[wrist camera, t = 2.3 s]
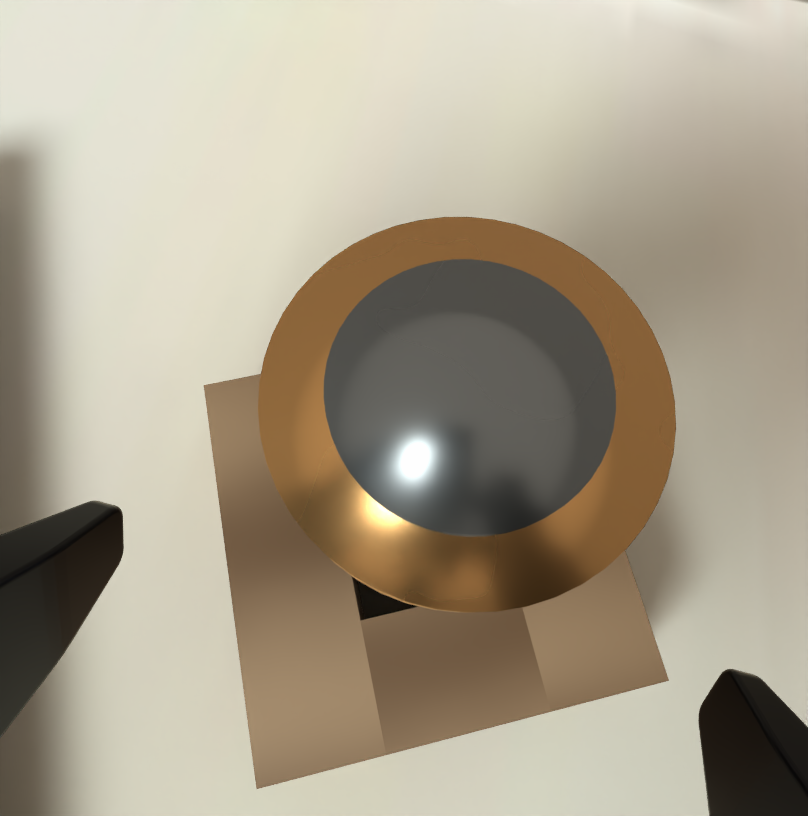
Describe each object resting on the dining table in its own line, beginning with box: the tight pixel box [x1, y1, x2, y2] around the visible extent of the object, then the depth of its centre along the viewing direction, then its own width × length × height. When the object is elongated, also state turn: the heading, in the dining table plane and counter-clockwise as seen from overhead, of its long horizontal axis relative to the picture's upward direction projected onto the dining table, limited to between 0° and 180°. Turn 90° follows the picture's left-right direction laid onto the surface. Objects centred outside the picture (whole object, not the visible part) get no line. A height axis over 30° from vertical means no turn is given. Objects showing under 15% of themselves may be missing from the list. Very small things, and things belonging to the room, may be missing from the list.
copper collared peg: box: [258, 217, 676, 612], centre depth 12 cm, size 4×4×13 cm
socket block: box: [204, 374, 669, 789], centre depth 17 cm, size 10×10×3 cm
